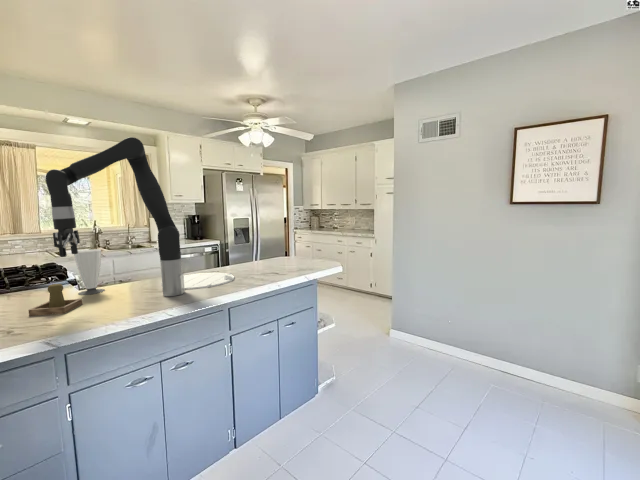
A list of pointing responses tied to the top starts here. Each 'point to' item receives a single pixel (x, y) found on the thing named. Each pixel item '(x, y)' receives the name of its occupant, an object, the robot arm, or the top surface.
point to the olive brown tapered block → (56, 296)
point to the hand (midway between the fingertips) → (69, 255)
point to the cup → (89, 269)
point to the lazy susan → (206, 280)
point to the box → (45, 309)
